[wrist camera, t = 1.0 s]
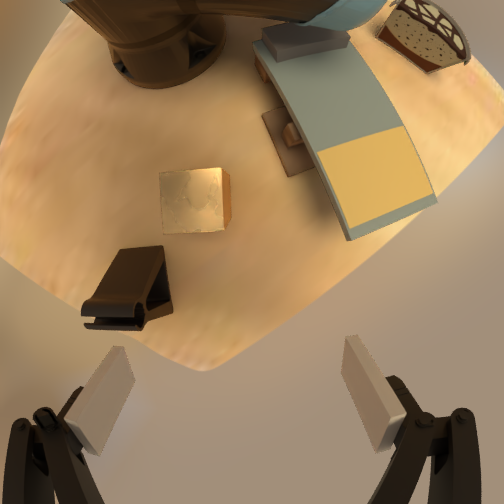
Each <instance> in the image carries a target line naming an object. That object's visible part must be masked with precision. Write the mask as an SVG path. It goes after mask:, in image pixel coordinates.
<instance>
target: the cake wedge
mask: <svg viewBox="0 0 504 504" xmlns="http://www.w3.org/2000/svg"><path fill="white" fill-rule="evenodd" d="M394 4H397V5H396V6H395V8H394V9H393V11H392V13H391V14H390V16H389V17H388V19H387V20H386V22H385V23H384V25H383V27H382V28H381V30H380V31H379V33H378V34H377V36H376V38H377V39H378V40H380V41H381V42H383V43H384V44H386V45H387V46H389V47H390V48H392V49H393V50H395V51H396V52H398V53H399V54H400V55H402V56H403V57H405V58H406V59H407V60H409V61H410V62H411V63H413V64H414V65H415V66H417V67H418V68H419V69H420V70H422V71H423V72H424V73H425V74H429V73H432V72H434V71H437V70H440V69H443V68H446V67H449V66H452V65H455V64H458V63H461V62H464V66H465V65H466V64H467V63H468V62H469V61H470V59H471V50H470V46H469V43H468V40H467V39H466V36H465V34H464V32H463V31H462V29H461V28H460V26H459V25H458V24H457V22H456V21H455V20H454V19H453V18H452V17H451V16H450V15H449V14H448V13H447V12H446V11H445V10H444V9H443V8H442V7H440V6H439V5H437V4H436V3H434V2H433V1H431V0H395V1H393V2H392V3H391V4H390V7H391V6H393V5H394Z"/></svg>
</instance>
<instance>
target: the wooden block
mask: <svg viewBox="0 0 504 504" xmlns="http://www.w3.org/2000/svg"><path fill="white" fill-rule="evenodd" d="M159 175H160V195H161V211H162V224H163V234H179V233H197V232H217V231H224V230H225V229H226V227H227V225H228V223H229V221H230V219H231V195H230V175H229V174H228V173H227V172H226V171H224V170H223V169H222V168H208V169H195V170H183V171H173V172H164V173H159Z"/></svg>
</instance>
